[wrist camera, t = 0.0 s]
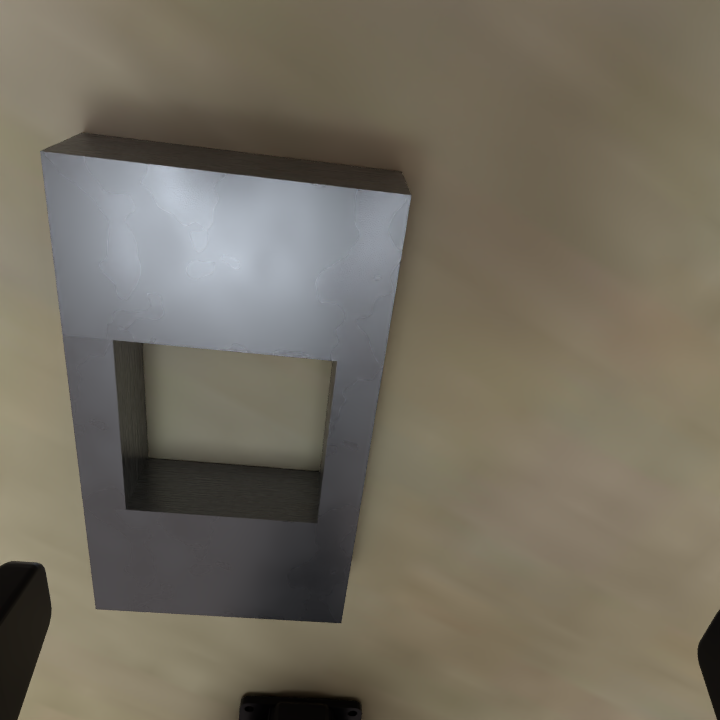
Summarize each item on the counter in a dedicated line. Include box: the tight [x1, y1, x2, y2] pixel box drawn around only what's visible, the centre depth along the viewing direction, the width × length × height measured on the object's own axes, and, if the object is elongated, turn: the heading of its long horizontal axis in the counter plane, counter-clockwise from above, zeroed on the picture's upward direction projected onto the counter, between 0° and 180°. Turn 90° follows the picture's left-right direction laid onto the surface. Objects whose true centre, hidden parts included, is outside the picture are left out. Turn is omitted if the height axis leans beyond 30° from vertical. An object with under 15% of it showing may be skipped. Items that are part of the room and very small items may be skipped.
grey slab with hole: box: [40, 133, 411, 623], centre depth 22 cm, size 18×10×3 cm, turn 173°
